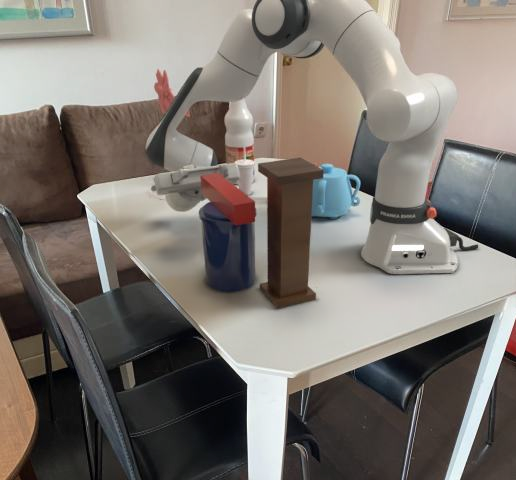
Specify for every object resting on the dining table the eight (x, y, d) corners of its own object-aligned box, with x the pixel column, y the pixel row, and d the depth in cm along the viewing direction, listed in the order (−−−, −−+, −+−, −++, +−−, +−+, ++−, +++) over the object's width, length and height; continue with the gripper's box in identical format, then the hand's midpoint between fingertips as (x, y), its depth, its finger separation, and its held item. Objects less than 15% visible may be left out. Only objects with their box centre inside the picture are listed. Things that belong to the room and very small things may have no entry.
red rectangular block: (201, 193, 110) (200, 175, 108) (219, 190, 112) (218, 172, 110) (235, 225, 96) (234, 205, 93) (255, 221, 97) (255, 201, 95)
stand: (259, 289, 110) (257, 163, 94) (296, 281, 113) (300, 157, 97) (277, 309, 103) (278, 176, 87) (315, 299, 106) (323, 169, 90)
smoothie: (256, 190, 163) (255, 145, 155) (254, 196, 158) (253, 150, 150) (236, 189, 163) (235, 144, 155) (234, 196, 158) (232, 150, 150)
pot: (261, 269, 118) (260, 198, 108) (252, 295, 108) (250, 219, 98) (211, 266, 119) (206, 195, 109) (198, 290, 110) (191, 216, 100)
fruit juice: (232, 175, 176) (228, 86, 159) (257, 177, 173) (256, 87, 157) (223, 184, 168) (218, 91, 152) (250, 186, 166) (247, 92, 150)
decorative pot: (335, 199, 155) (338, 154, 147) (363, 217, 143) (368, 168, 135) (287, 207, 150) (288, 160, 142) (312, 226, 138) (314, 176, 130)
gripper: (146, 177, 120) (155, 161, 107) (226, 166, 127) (243, 149, 114) (152, 204, 121) (162, 191, 108) (231, 191, 128) (249, 178, 115)
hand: (204, 169), depth 111 cm, fingers open, 8 cm apart
